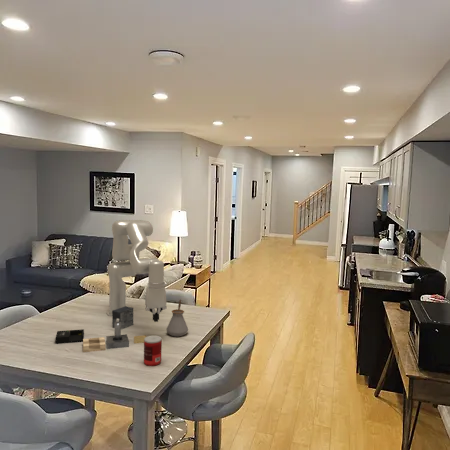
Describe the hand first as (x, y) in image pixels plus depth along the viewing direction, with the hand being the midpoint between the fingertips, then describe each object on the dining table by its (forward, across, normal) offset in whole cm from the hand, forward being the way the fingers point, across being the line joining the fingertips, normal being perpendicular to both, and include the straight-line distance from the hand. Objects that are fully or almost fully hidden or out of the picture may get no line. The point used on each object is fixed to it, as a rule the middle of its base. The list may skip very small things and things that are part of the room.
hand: (155, 321), depth 207 cm
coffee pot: (+11, -14, -12) cm, 21 cm away
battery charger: (+11, +41, -13) cm, 44 cm away
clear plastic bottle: (+10, +19, -1) cm, 21 cm away
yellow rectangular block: (+10, +8, -1) cm, 13 cm away
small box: (+10, +14, -26) cm, 31 cm away
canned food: (+11, +6, +24) cm, 27 cm away
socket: (+10, +19, -1) cm, 21 cm away
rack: (+10, +30, 0) cm, 31 cm away
